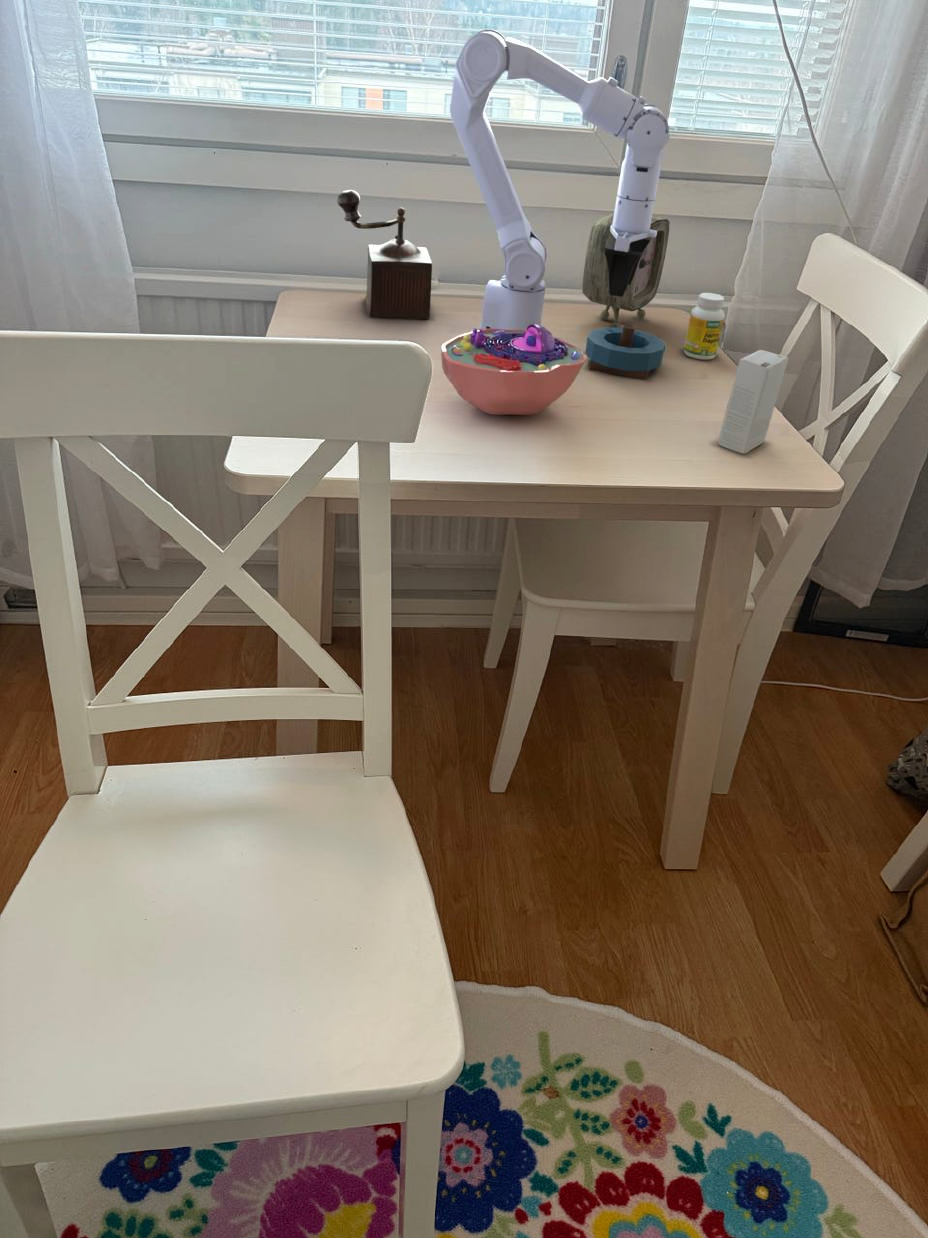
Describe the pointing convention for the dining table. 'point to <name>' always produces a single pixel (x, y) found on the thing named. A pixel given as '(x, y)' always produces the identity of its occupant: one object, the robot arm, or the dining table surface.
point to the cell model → (511, 368)
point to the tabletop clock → (645, 274)
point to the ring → (625, 350)
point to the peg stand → (625, 341)
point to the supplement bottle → (705, 327)
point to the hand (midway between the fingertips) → (620, 289)
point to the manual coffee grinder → (393, 269)
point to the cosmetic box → (752, 401)
